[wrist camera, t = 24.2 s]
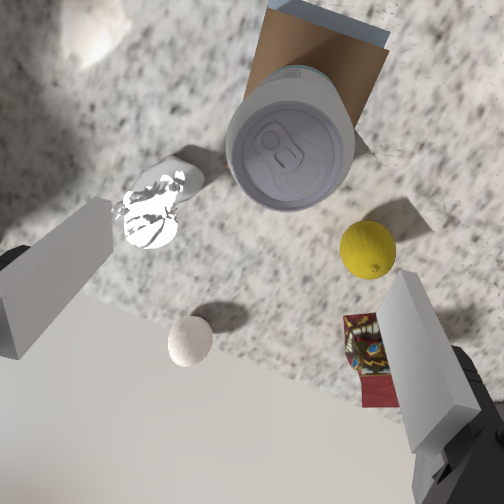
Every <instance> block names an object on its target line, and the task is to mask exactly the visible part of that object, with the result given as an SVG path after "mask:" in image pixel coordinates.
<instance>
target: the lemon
mask: <svg viewBox="0 0 504 504" xmlns="http://www.w3.org/2000/svg"><path fill="white" fill-rule="evenodd" d="M340 254H341V257H342V261H343V263H344V264H345V266H346V267H347V269H348V270H349V271H350V272H351V273H352V274H353V275H355V276H357V277H359V278H362V279H370V280H371V279H377V278H380V277H382V276H384V275H385V274H386V273H387V272H388V271H389V270H390V269H391V268H392V266H393V264H394V262H395V258H396V245H395V241H394V239H393V237H392V235H391V233H390V232H389V231H388V230H387V228H385V227H384V226H383V225H381V224H380V223H377V222H374V221H360V222H357V223H355V224H353V225H351V226H350V227H349V228H348V229H347V230H346V231H345V233H344V234H343V236H342V239H341V243H340Z"/></svg>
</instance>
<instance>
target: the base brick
mask: <svg viewBox="0 0 504 504" xmlns="http://www.w3.org/2000/svg"><path fill="white" fill-rule="evenodd" d="M267 7H268V8H271V9H274V10H277V11H280V12H282V13H285V14H288V15H291V16H294V17H296V18H299V19H302V20H305V21H308V22H311V23H313V24H316V25H319V26H322V27H325V28H327V29H330V30H333V31H336V32H339V33H342V34H344V35H347V36H350V37H353V38H356V39H358V40H361V41H364V42H367V43H370V44H373V45H375V46H378V47H381V48H384V46H385V44H386V41H387V39H388V37H389V35H390V32H389V31H386V30H383V29H381V28H378V27H375V26H372V25H369V24H367V23H364V22H361V21H358V20H355V19H353V18H350V17H347V16H344V15H341V14H338V13H336V12H333V11H330V10H327V9H324V8H322V7H319V6H316V5H313V4H310V3H308V2H305V1H302V0H269V2H268V6H267Z"/></svg>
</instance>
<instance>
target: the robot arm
mask: <svg viewBox="0 0 504 504" xmlns="http://www.w3.org/2000/svg"><path fill="white" fill-rule="evenodd" d="M112 252H113V236H112V205H111V201H109V200H105V199H101V198H97V197H94V198H93V199H91V200H90V201H89V202H88V203H86V204H85V205H84V206H82V207H81V208H80V209H79V210H77V211H76V212H75V213H74V214H72V215H71V216H70V217H69V218H67V219H66V220H65V221H63V222H62V223H61V224H60V225H58V226H57V227H56V228H55V229H53V230H52V231H51V232H50V233H48V234H47V235H46V236H44V237H43V238H42V239H41V240H39V241H38V242H37V243H36V244H34V245H33V246H32V247H30V246H26V245H21V246H18V247H16V248H13V249H11V250H8V251H7V252H5V253H4V254H2V255H1V256H0V356H3V357H7V358H11V359H16V360H20V359H21V357H22V356H23V355H24V354H25V352H27V350H28V349H29V348H30V347H31V346H32V345H33V344H34V342H35V341H36V340H37V339H38V338H39V337H40V335H41V334H42V333H43V332H44V331H45V330H46V329H47V327H48V326H49V325H50V324H51V323H52V321H53V320H54V319H55V318H56V317H57V316H58V315H59V314H60V312H61V311H62V310H63V309H64V308H65V306H66V305H67V304H68V303H69V302H70V301H71V300H72V299H73V297H74V296H75V295H76V294H77V293H78V292H79V290H80V289H81V288H82V287H83V286H84V285H85V284H86V282H87V281H88V280H89V279H90V278H91V277H92V275H93V274H94V273H95V272H96V271H97V270H98V269H99V267H100V266H101V265H102V264H103V263H104V262H105V260H106V259H107V258H108V257H109V256H110V255H111V254H112ZM376 316H377V320H378V324H379V328H380V332H381V336H382V340H383V344H384V347H385V351H386V355H387V359H388V363H389V367H390V371H391V375H392V379H393V383H394V386H395V390H396V394H397V398H398V402H399V406H400V410H401V414H402V418H403V422H404V425H405V429H406V433H407V437H408V441H409V445H410V449H411V453H415V454H419V455H423V456H427V457H431V458H435V457H436V456H437V455H438V454H439V453H440V452H441V451H442V450H443V449H444V450H445V453H446V456H447V459H448V462H446V463H445V464H444V465H443V466H442V467H441V468H440V469H439V470H438V471H437V472H436V473H435V474H434V475H433V476H432V478H433V479H434V480H435V481H434V482H433V484H432V486H431V488H430V490H429V491H428V493H427V495H426V497H425V498H424V500H423V502H422V504H504V422H503V420H502V418H501V416H500V415H499V413H498V411H497V409H496V407H495V405H494V403H493V401H492V399H491V397H490V395H489V393H488V391H487V389H486V387H485V385H483V381H482V379H481V377H480V375H479V374H477V370H476V368H475V366H474V364H473V362H472V360H471V359H470V357H469V356H468V355H467V354H466V353H465V352H464V351H463V350H462V349H461V347H457V346H453V345H450V342H449V340H448V338H447V336H446V334H445V332H444V330H443V328H442V325H441V323H440V321H439V319H438V317H437V315H436V313H435V311H434V308H433V306H432V304H431V302H430V300H429V298H428V296H427V294H426V291H425V289H424V287H423V285H422V283H421V281H420V279H419V277H418V274H417V273H414V272H410V271H406V270H402V269H400V270H399V272H398V274H397V276H396V278H395V279H394V281H393V283H392V285H391V287H390V289H389V291H388V292H387V294H386V296H385V298H384V300H383V302H382V303H381V305H380V307H379V309H378V311H377V313H376Z"/></svg>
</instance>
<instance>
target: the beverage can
mask: <svg viewBox="0 0 504 504" xmlns="http://www.w3.org/2000/svg"><path fill="white" fill-rule="evenodd" d="M354 152H355V135H354V129H353V125H352V122H351V120H350V117H349V115H348V113H347V111H346V109H345V106H344V104H343V102H342V100H341V98H340V96H339V94H338V92H337V90H336V88H335V86H334V85H333V83H332V82H331V81H330V79H329V78H328V77H327V76H326V75H324V74H323V73H322V72H320V71H318V70H316V69H314V68H312V67H309V66H304V65H291V66H286V67H283V68H280V69H278V70H276V71H274V72H273V73H271V74H270V75H268V76H267V77H266V78H265V79H264V80H263V81H262V82H261V83H260V84H259V85H258V86H257V87H256V88H255V89H254V90H253V91H252V92H251V94H250V95H249V96H248V97H247V98H246V99H245V100H244V101H243V102H242V103H241V104H240V106H239V107H238V108H237V110H236V111H235V113H234V115H233V117H232V119H231V121H230V124H229V127H228V131H227V135H226V157H227V162H228V165H229V168H230V171H231V173H232V175H233V177H234V179H235V181H236V182H237V184H238V185H239V186H240V187H241V189H242V190H243V191H244V192H245V193H246V194H247V196H248V197H250V198H251V199H252V200H253V201H254V202H256V203H257V204H259V205H261V206H263V207H265V208H267V209H270V210H274V211H279V212H296V211H301V210H305V209H308V208H310V207H312V206H314V205H316V204H318V203H319V202H321V201H323V200H324V199H326V198H327V197H329V196H330V195H331V194H332V193H334V192H335V191H336V190H337V189H338V187H339V186H340V185H341V184H342V182H343V181H344V179H345V178H346V176H347V174H348V172H349V170H350V168H351V165H352V162H353V158H354Z"/></svg>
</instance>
